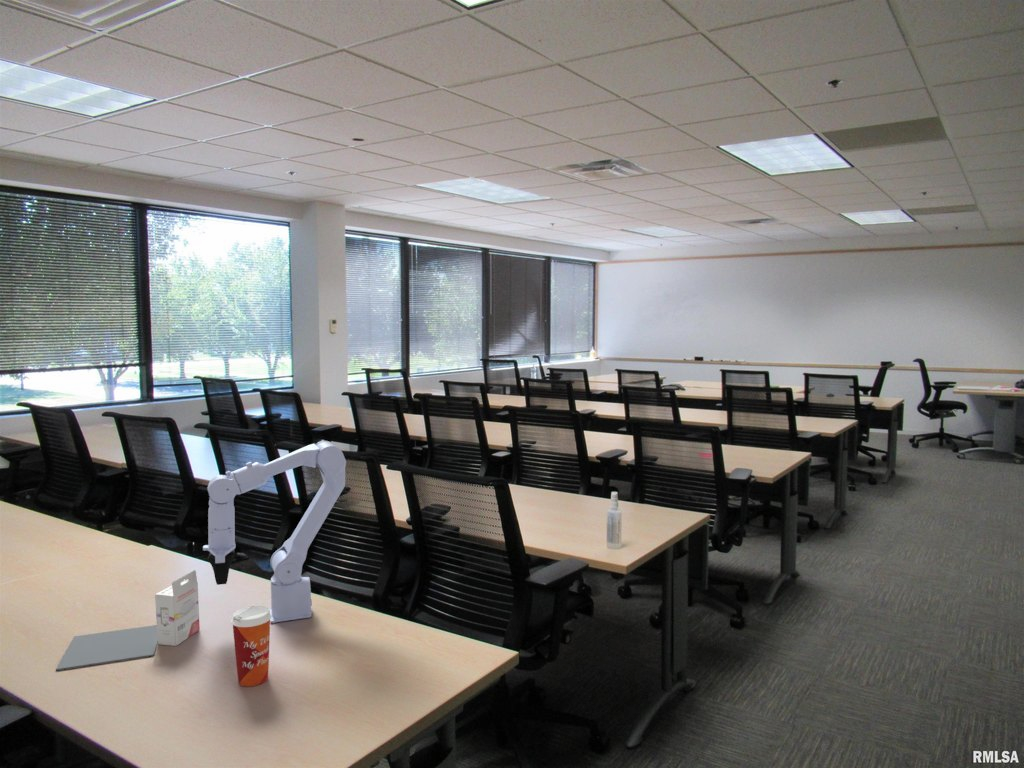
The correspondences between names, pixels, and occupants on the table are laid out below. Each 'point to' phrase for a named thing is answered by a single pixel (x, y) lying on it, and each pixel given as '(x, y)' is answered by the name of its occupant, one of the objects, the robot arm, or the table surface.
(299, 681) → the table surface
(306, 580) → the robot arm
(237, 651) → the paper cup
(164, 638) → the ink cartridge box
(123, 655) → the mat
